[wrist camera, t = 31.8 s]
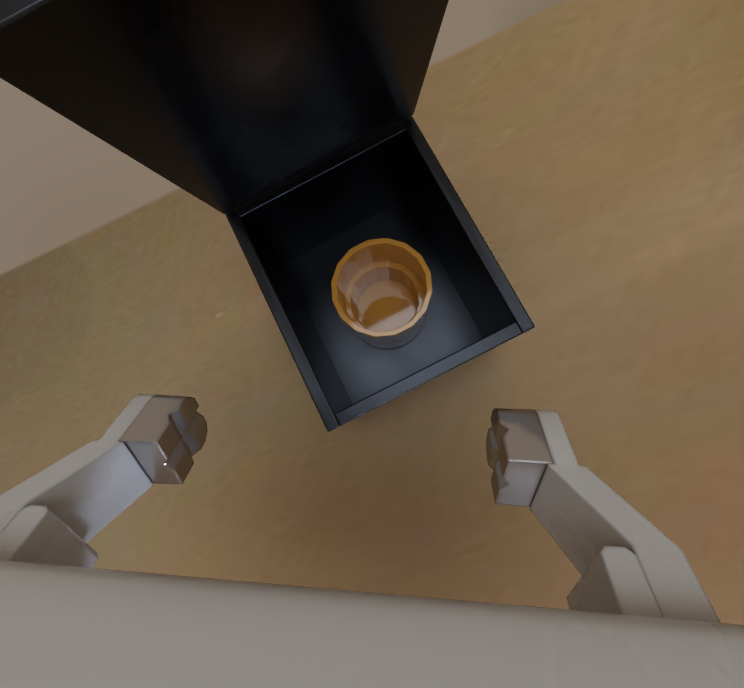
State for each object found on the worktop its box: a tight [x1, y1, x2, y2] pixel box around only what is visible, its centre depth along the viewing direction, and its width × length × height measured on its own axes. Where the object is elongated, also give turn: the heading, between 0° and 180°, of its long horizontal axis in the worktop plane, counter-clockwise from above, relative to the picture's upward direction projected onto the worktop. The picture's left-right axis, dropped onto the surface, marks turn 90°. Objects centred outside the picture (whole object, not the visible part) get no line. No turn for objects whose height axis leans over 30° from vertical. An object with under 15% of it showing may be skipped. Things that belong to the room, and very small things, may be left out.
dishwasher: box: [225, 115, 535, 432], centre depth 28 cm, size 16×14×10 cm
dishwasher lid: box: [0, 0, 448, 214], centre depth 16 cm, size 16×14×5 cm
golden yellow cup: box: [331, 238, 432, 349], centre depth 28 cm, size 6×6×8 cm
